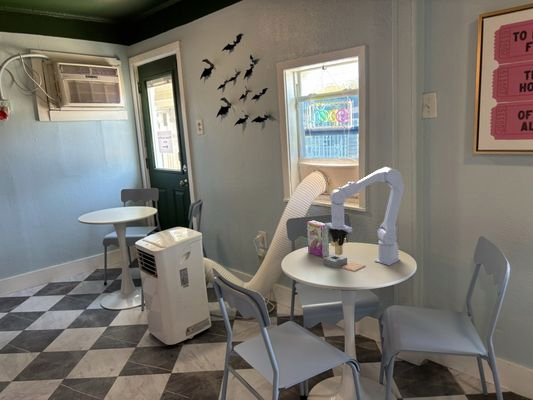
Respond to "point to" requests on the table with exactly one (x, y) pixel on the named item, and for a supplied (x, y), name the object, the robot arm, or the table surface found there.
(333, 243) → the brass rectangular peg
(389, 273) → the table surface
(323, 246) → the candy bar box
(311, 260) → the table surface
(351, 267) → the terracotta pad
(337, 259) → the slate socket block
